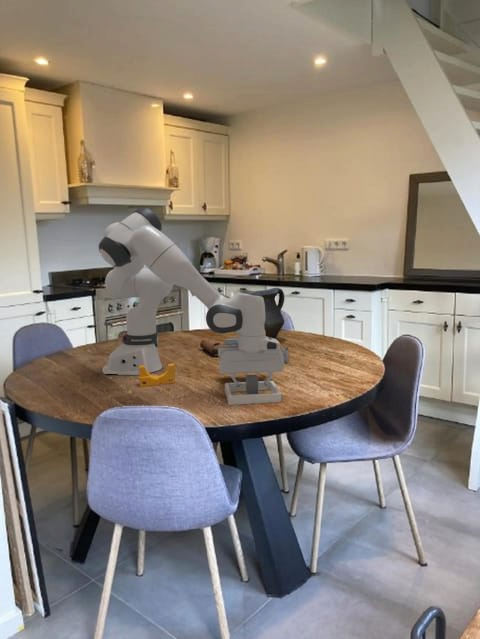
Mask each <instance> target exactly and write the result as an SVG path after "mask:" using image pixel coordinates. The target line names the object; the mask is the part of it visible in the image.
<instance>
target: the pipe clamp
mask: <svg viewBox="0 0 480 639" xmlns="http://www.w3.org/2000/svg"><path fill="white" fill-rule="evenodd" d="M167 365H168V367H167V370H166V371H165V372H164V373H163V374H160V375H153V374H150V373H148V372H147V370H146V368H145V365H142V366H139V374H140V375H139V387H140V386H142V387H154V386H153V385H157V386H160V384H161V385H163V384H165V385H166V384H175V383H176V375H175V374H176V373H175V372H176V370H175V363H168V364H167Z"/></svg>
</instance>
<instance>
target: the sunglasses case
mask: <svg viewBox="0 0 480 639" xmlns="http://www.w3.org/2000/svg"><path fill="white" fill-rule="evenodd" d="M222 345H223V344H222V343H221V342H220V341H217V340H212V339H211V340H210V339H202V340H201V341H200V344H199V346H200V348H201V349H203V350H205V351H207V352H208V353H210V354H211V355H212V356H214V357H219V356H218V348H219V347H220V346H222Z"/></svg>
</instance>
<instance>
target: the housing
mask: <svg viewBox="0 0 480 639" xmlns="http://www.w3.org/2000/svg"><path fill="white" fill-rule="evenodd" d="M258 391H271V392H272V393H258V394H250V395H246V394H234V395H232V393H234V392H236V393H237V392H246V381H243V382H240V381H239V387H235V386H234V382H225V383H224V392H225V395H226V396H225V397H226V400H227V404H228V406H234V405H235V404H236V405H247V404H248V405H249V404H250V405H251V404H252V403H253V404H269V402H271V403H282V393H281V391H280V390H279V387H277V385H276V383H275V381H274V380H269V386H265V385H264V380H263V381H258Z"/></svg>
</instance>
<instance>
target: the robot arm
mask: <svg viewBox="0 0 480 639" xmlns="http://www.w3.org/2000/svg"><path fill="white" fill-rule="evenodd" d="M162 230H163V226H162V222H161V220H160V218H159V217H158V215H157V214H156V213H155V212H154V211H153V210H152V209H150V208H149V207H140V208H138V209H136V210H134V211H133V212H132V214H129V215H128V216H126V217H125V218H124V219H123V220H122V221H120V222H113V223H111V224H109V225H108V226H107V227H106V228H105V230H104V233H103V238H102V239H101V240H100V242H99V244H98V251H99V253H100V255H101V257H102V258H103V259H104V260H103V261H105V262H106V263H108V264H109V265H110V266H112V267H114V268H113V269H112V270H110V271H109V272H108V273H107V275H106V276H105V280H104V285H105V289H106V291H107V292H108V294H109V295H110V296H114V297H119V298H139V299H140V300H139V304H138V305H136V306H133V307H132V308H131V309H129V310H128V311H127V313H126V316H125V319H126V321H125V322H126V332H123V333H122V334H121V343H122V344H120V345H119V346H118V347H116V348H115V349H114V350H113V351H112V352H111V353H110V355H109V356H108V361H107V364H105V365H104V366H103V367H102V371H101V372H103V373H104V374H103V373H102V374H103V375H105V374H118V375H117V376H140V374H139V366H142V365H145V368H146V370H147V372H148V373H149V374H150V373H153V372H157V371H159V370H161V369H162V368H163V365H162V363H161V359H160V356H159V350H158V349H159V348H158V346H159V335H158V332H157V314H158V313H157V312H158V308H159V306H160V304H161V302H162V301H163V300H164V299H165V298H166V297H168V295H169V294H170V293H171V292H172V290H173V289H174V288H173V287H174V286H178V287H181V288H183V289H185V290H187V291H189V292H190V293H191V294H193V295H194V296H195V298H196V299H198V300H199V301H200V302H201V303H202V304H203V305H204V306H206V308H207V309H208V310H207V312H206V314H205V321H206V325H207V327H208V328H209V330H211V332H213V333H216V334H221V335H223V334H228V333H233V332H236V339H237V343H235V344H226V343H223V344H222V346H220V347H219V348H218V356H217V357H219V362H218V364H219V367H218V368H219V372H220V373H221V374H222V375H230V378H231V379H232V380H233V383H234V386H235V387H239V383H240V380H238V379H236V377H237V375H236V374H252V373H253V374H257V373H267V377H266V378H264V379H263V381H264V385H265V386H269V381H271V379H272V377H273V375H274V373H275V372H276V373H278V372H280V373H281V372H283V371H284V370H285V362H284V356H283V354H282V352H281V350H280V349H281V343H280V341H279V340H277V338H276V339H274V338H270V337H266V336H265V329H264V323H265V303H264V299H263V297H262V296H261V295H260V294H259V293H257V292H254V290H244V289H243V290H239V291H238V293H236V294H234V295H232V296H228V295H225V294H223V293H221V292H220V291H219V290H218V289H216V287H214V285H212V284H211V283H210V282H209V281H208V280H207V279H206V278H205V277H204V276H203V275H201V273H200V272H199V270H198V269H197V268H196V267H195V266H194V265H193V264H192V262H191V261H190V259H189V258H188V257H187V255H185V253H184V252H183V251H182V250H181V249H180V248H179V247H178V245H176V243H174V241H172V240H171V239H170V237H168V236H167V235H165V233H164V232H162ZM145 266H146V267H145ZM144 267H145V268H144Z"/></svg>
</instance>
